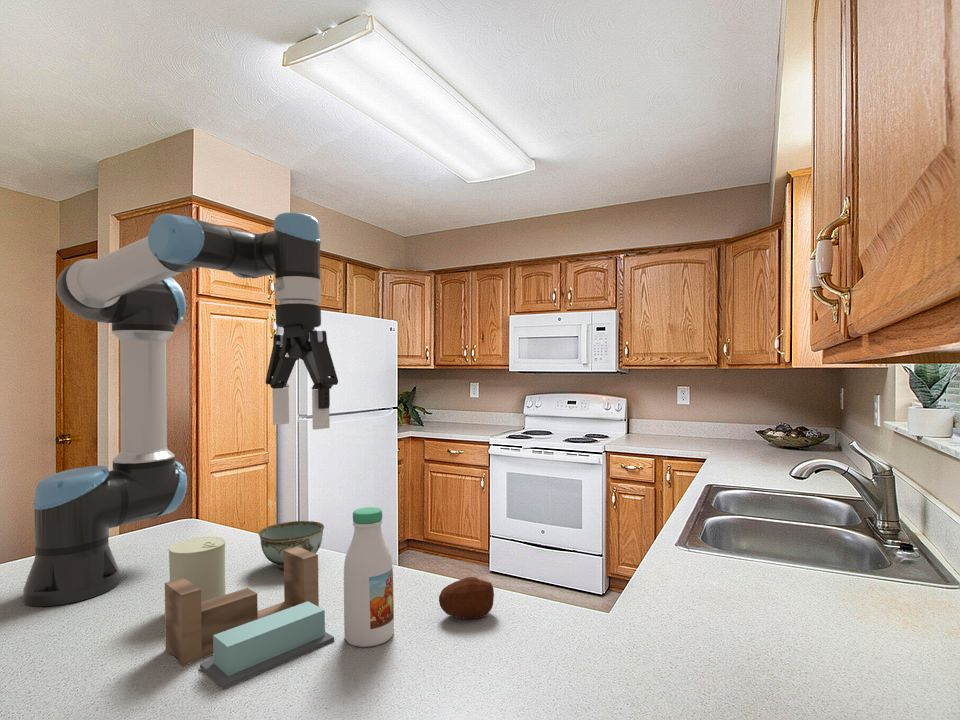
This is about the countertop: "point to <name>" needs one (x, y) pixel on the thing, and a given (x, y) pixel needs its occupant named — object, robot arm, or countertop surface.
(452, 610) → the potato
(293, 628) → the slab
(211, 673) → the mat
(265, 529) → the bowl
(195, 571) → the can
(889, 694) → the countertop surface
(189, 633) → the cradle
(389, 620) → the milk bottle
